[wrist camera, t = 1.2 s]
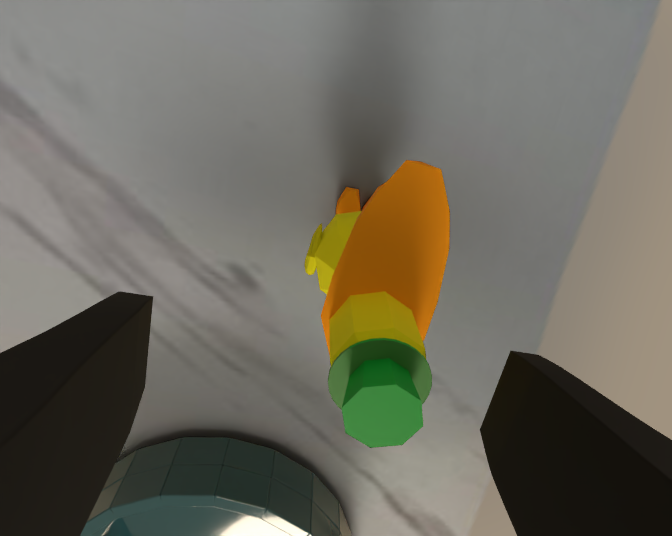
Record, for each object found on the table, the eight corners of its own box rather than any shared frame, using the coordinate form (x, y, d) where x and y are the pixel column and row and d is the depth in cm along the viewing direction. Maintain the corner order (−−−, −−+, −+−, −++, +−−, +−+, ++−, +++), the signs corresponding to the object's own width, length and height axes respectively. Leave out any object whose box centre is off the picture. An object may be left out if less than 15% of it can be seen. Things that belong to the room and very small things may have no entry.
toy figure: (339, 111, 20) (356, 175, 9) (432, 137, 20) (565, 230, 9) (295, 278, 22) (264, 501, 11) (379, 299, 22) (435, 534, 11)
